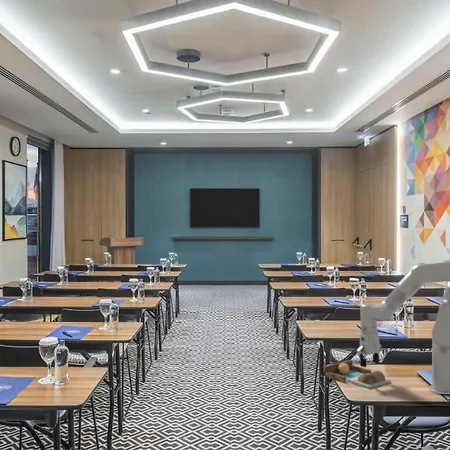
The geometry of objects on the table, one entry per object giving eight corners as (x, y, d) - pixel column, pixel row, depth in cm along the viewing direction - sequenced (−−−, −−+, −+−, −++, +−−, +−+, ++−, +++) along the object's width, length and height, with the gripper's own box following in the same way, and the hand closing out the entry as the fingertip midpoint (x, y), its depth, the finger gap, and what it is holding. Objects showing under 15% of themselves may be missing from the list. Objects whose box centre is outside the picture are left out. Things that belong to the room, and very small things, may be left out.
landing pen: (371, 375, 256) (371, 365, 256) (344, 382, 244) (344, 372, 244) (350, 369, 266) (350, 359, 266) (324, 376, 254) (324, 366, 254)
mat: (368, 375, 255) (368, 374, 255) (345, 381, 245) (345, 381, 245) (350, 370, 264) (350, 369, 264) (327, 376, 254) (327, 375, 254)
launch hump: (385, 387, 244) (385, 372, 244) (369, 392, 237) (369, 377, 237) (373, 383, 250) (373, 369, 250) (357, 388, 242) (357, 373, 242)
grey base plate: (390, 382, 244) (390, 379, 244) (369, 388, 234) (369, 385, 234) (368, 375, 254) (368, 373, 254) (347, 381, 245) (347, 379, 245)
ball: (350, 375, 257) (352, 365, 256) (343, 377, 254) (345, 367, 253) (342, 369, 261) (344, 360, 260) (334, 371, 258) (337, 362, 257)
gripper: (363, 333, 237) (364, 369, 237) (386, 328, 247) (387, 363, 247) (351, 330, 243) (352, 366, 243) (373, 326, 253) (374, 360, 253)
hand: (369, 364), depth 245 cm, fingers open, 9 cm apart
